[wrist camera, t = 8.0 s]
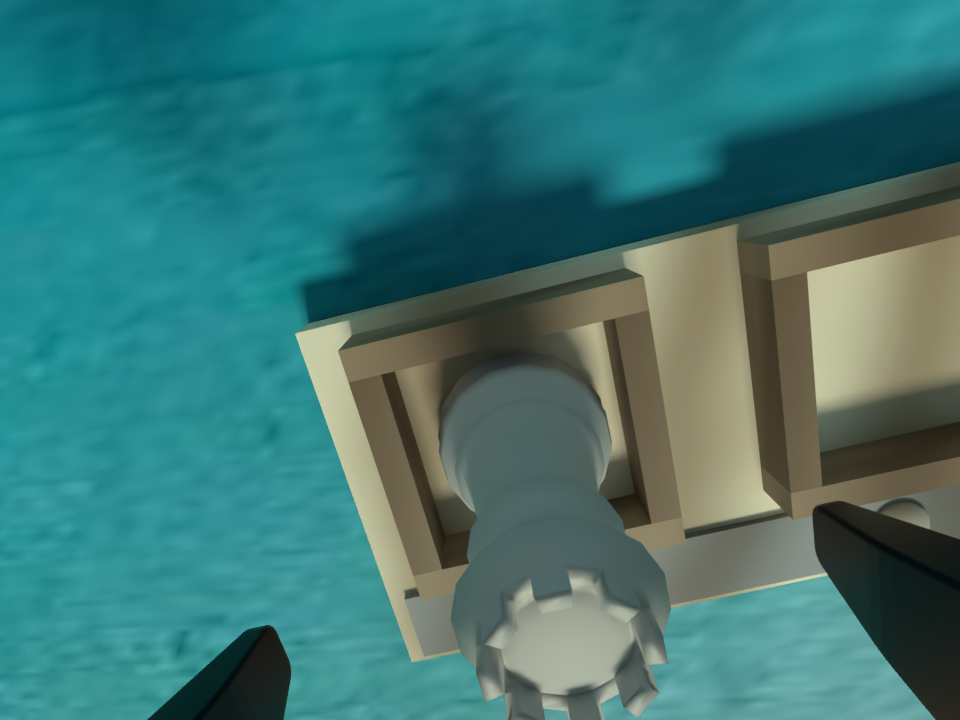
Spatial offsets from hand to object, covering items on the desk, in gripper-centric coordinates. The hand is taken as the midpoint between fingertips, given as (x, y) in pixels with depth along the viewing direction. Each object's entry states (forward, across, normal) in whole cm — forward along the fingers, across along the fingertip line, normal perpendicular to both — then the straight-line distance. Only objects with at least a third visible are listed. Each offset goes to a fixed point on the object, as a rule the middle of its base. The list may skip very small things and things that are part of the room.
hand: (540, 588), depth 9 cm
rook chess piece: (+6, 0, 0) cm, 7 cm away
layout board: (+8, -5, +2) cm, 9 cm away
